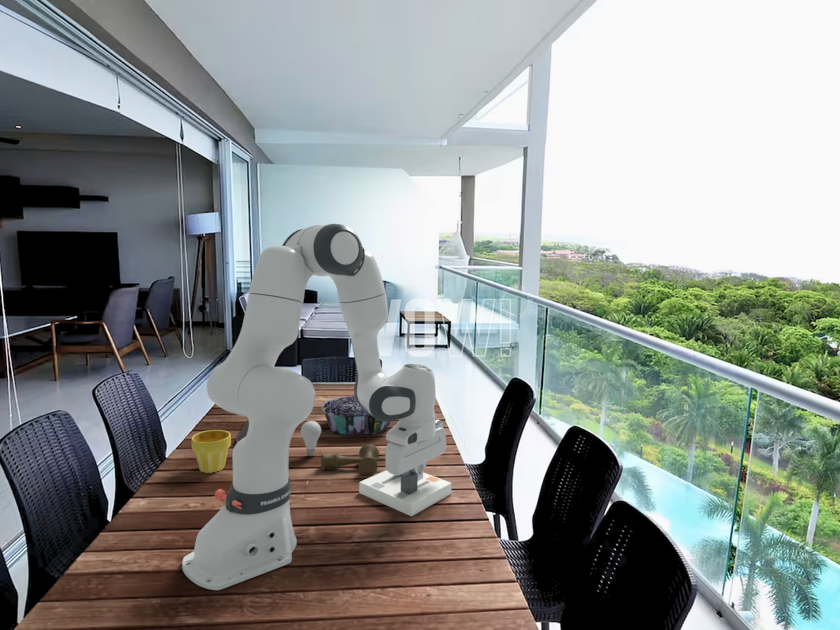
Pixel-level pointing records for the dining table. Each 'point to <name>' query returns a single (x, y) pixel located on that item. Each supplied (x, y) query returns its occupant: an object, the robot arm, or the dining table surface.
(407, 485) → the block
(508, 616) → the dining table surface
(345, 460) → the kendama
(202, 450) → the plant pot
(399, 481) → the breaker panel
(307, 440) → the lightbulb
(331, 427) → the decorative bowl
